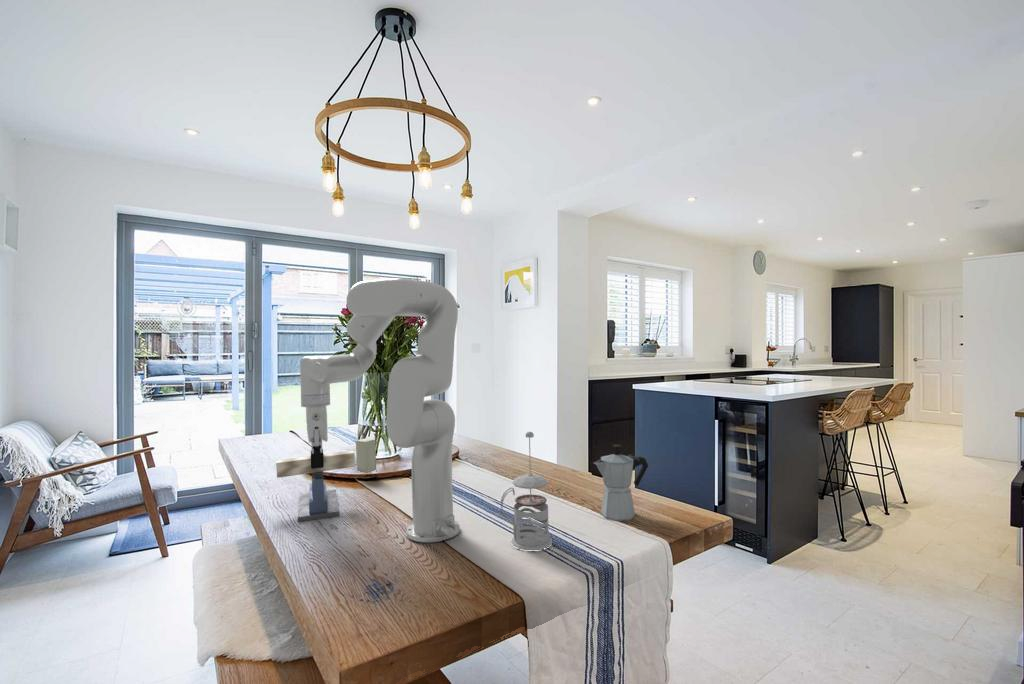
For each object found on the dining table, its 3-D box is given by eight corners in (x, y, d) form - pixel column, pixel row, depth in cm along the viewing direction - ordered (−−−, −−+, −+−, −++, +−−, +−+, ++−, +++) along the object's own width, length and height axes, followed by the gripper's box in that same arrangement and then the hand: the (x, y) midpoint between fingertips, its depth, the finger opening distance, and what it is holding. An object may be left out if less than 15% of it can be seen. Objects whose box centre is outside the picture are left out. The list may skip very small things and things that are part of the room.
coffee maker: (601, 523, 119) (599, 450, 118) (588, 511, 127) (587, 443, 127) (656, 517, 122) (655, 446, 121) (640, 505, 130) (639, 439, 130)
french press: (557, 550, 104) (554, 435, 104) (503, 553, 103) (501, 437, 103) (549, 532, 114) (547, 426, 114) (500, 535, 113) (498, 428, 113)
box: (377, 477, 162) (376, 439, 161) (366, 481, 158) (366, 441, 158) (366, 475, 164) (365, 437, 164) (356, 478, 161) (355, 440, 161)
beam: (277, 477, 129) (276, 463, 129) (277, 475, 132) (276, 460, 132) (355, 466, 137) (354, 452, 137) (354, 464, 140) (353, 450, 139)
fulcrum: (339, 515, 127) (338, 478, 127) (297, 522, 123) (296, 483, 123) (335, 493, 146) (335, 460, 146) (299, 498, 142) (298, 464, 142)
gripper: (331, 402, 128) (332, 471, 128) (329, 396, 143) (330, 457, 143) (300, 405, 125) (302, 475, 125) (301, 397, 140) (303, 460, 141)
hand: (317, 465), depth 134 cm, fingers open, 3 cm apart
